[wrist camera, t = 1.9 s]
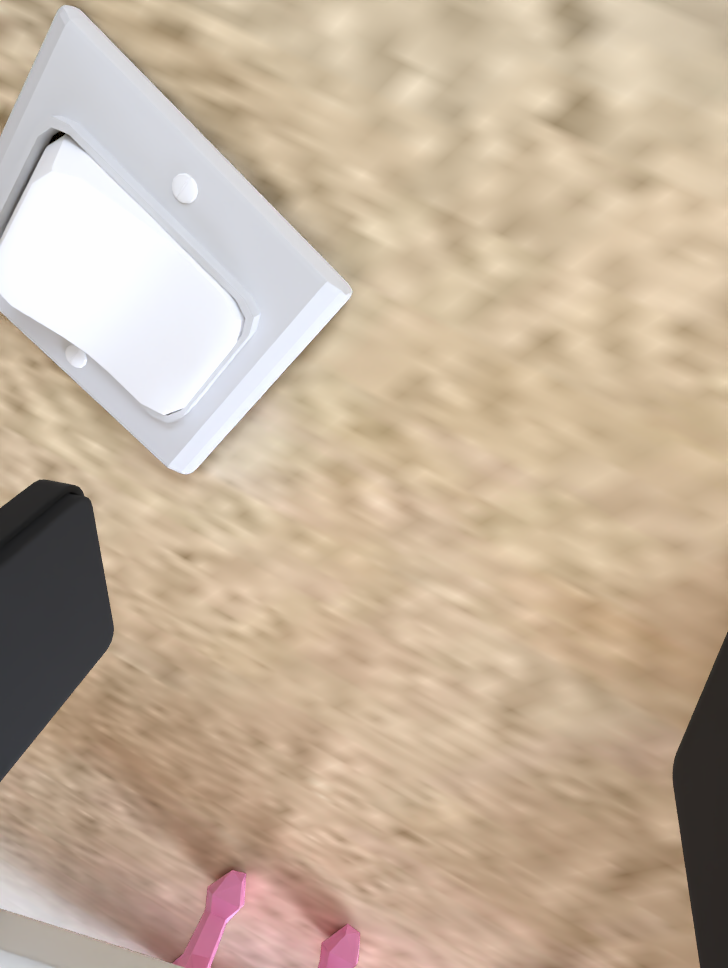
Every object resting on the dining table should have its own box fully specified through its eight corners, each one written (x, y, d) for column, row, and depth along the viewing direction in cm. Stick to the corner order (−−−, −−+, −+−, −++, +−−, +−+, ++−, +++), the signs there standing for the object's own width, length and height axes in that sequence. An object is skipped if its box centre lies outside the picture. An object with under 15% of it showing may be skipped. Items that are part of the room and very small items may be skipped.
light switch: (-6, -15, 20) (322, 315, 21) (86, 5, 23) (362, 286, 25) (-117, 266, 25) (149, 510, 27) (-30, 247, 29) (201, 464, 30)
